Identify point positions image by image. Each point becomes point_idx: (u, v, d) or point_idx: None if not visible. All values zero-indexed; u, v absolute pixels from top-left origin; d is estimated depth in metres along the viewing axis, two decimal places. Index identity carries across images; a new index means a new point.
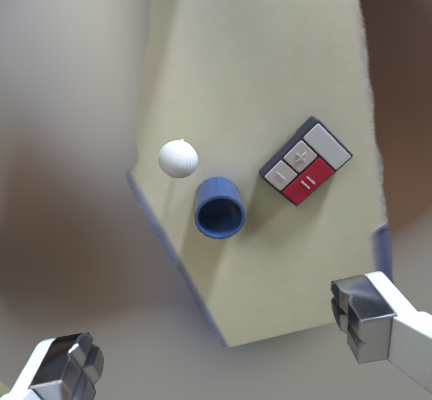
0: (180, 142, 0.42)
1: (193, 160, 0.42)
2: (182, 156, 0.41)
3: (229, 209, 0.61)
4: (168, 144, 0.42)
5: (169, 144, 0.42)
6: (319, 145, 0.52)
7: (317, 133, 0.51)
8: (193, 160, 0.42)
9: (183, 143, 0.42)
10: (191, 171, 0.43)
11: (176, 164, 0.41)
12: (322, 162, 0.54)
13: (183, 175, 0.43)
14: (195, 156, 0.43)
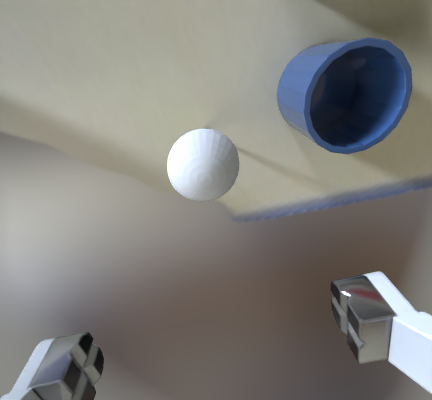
0: (169, 156, 0.22)
1: (204, 142, 0.20)
2: (189, 163, 0.20)
3: (350, 70, 0.31)
4: (169, 178, 0.23)
5: (169, 177, 0.22)
6: None
7: None
8: (205, 140, 0.20)
9: (171, 151, 0.22)
10: (227, 149, 0.21)
11: (201, 180, 0.20)
12: None
13: (230, 168, 0.21)
14: (200, 135, 0.21)
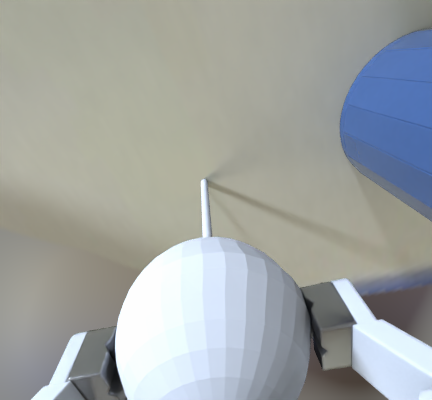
0: (119, 322, 0.08)
1: (221, 320, 0.06)
2: (169, 396, 0.06)
3: None
4: None
5: None
6: None
7: None
8: (222, 311, 0.06)
9: (124, 314, 0.08)
10: (290, 325, 0.07)
11: None
12: None
13: (298, 382, 0.07)
14: (206, 285, 0.07)
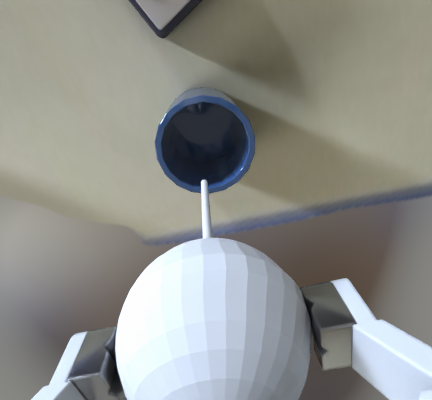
0: (119, 323, 0.08)
1: (222, 321, 0.06)
2: (169, 398, 0.06)
3: (230, 110, 0.33)
4: None
5: None
6: None
7: None
8: (222, 312, 0.06)
9: (124, 315, 0.08)
10: (291, 326, 0.07)
11: None
12: None
13: (298, 384, 0.07)
14: (206, 286, 0.07)
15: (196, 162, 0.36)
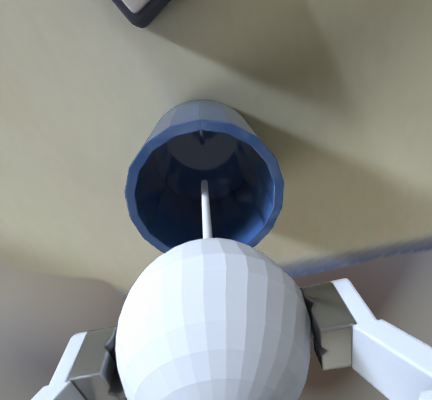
0: (119, 323, 0.08)
1: (222, 321, 0.06)
2: (169, 398, 0.06)
3: None
4: None
5: None
6: None
7: None
8: (222, 312, 0.06)
9: (124, 315, 0.08)
10: (291, 326, 0.07)
11: None
12: None
13: (299, 384, 0.07)
14: (206, 286, 0.07)
15: (193, 201, 0.26)
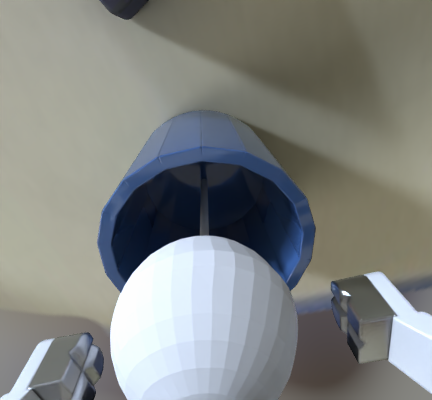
0: (114, 315, 0.08)
1: (208, 314, 0.07)
2: (157, 384, 0.06)
3: None
4: None
5: None
6: None
7: None
8: (209, 305, 0.07)
9: (118, 307, 0.08)
10: (275, 320, 0.07)
11: None
12: None
13: (282, 375, 0.07)
14: (195, 280, 0.07)
15: (193, 231, 0.21)
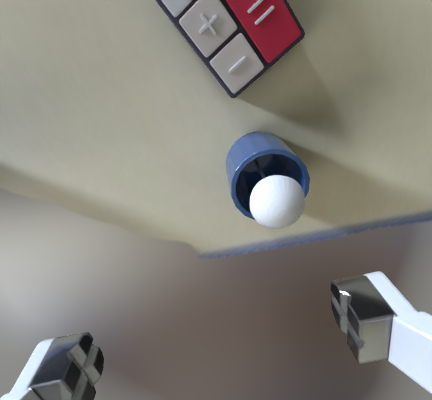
0: (253, 195, 0.29)
1: (283, 187, 0.28)
2: (272, 203, 0.28)
3: None
4: (251, 211, 0.30)
5: (252, 210, 0.30)
6: None
7: None
8: (283, 186, 0.28)
9: (255, 192, 0.29)
10: (299, 192, 0.28)
11: (280, 215, 0.28)
12: None
13: (301, 206, 0.28)
14: (279, 181, 0.28)
15: (250, 191, 0.43)
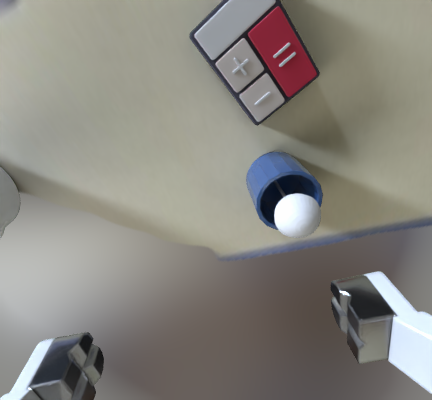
0: (278, 210, 0.35)
1: (304, 205, 0.34)
2: (296, 218, 0.34)
3: None
4: (276, 223, 0.36)
5: (277, 223, 0.36)
6: (228, 33, 0.34)
7: (208, 37, 0.34)
8: (304, 203, 0.34)
9: (280, 208, 0.35)
10: (317, 208, 0.34)
11: (302, 227, 0.34)
12: (256, 28, 0.34)
13: (318, 220, 0.34)
14: (300, 199, 0.34)
15: (267, 202, 0.49)
